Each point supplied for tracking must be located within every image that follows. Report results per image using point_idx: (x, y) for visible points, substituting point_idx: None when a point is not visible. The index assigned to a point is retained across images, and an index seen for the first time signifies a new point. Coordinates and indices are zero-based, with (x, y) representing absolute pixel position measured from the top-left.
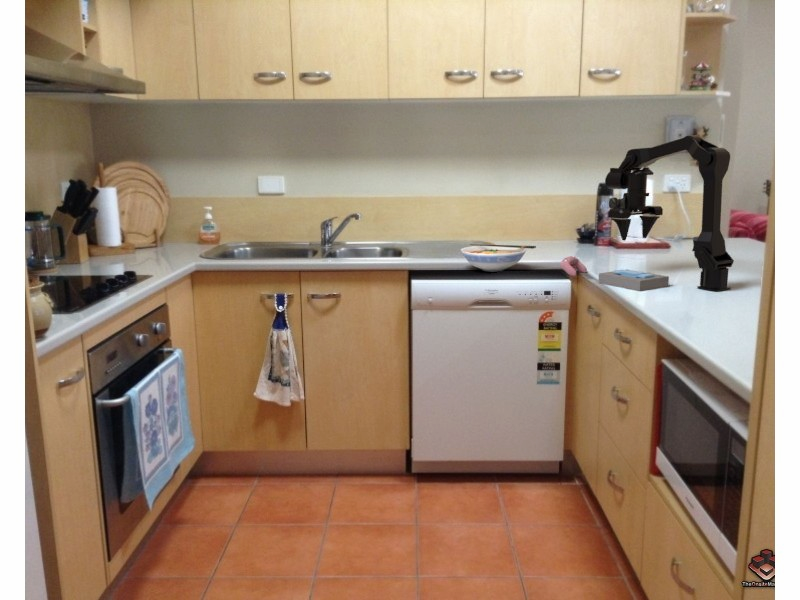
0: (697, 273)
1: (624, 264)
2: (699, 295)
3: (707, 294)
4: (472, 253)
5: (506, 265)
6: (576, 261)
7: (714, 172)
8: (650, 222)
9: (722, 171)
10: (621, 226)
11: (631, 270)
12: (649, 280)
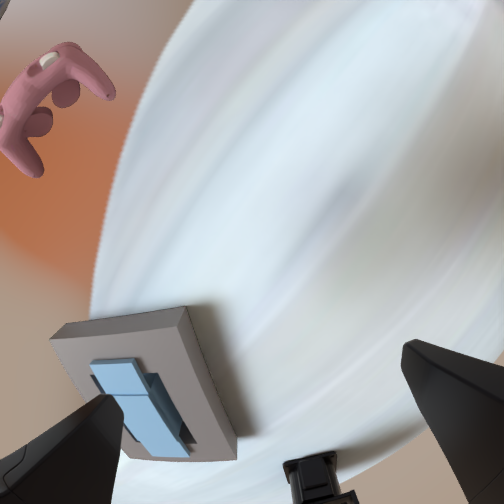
0: (467, 301)
1: (392, 18)
2: (234, 487)
3: (255, 486)
4: None
5: None
6: (55, 82)
7: None
8: (476, 499)
9: None
10: (33, 492)
11: (148, 402)
12: (160, 458)
